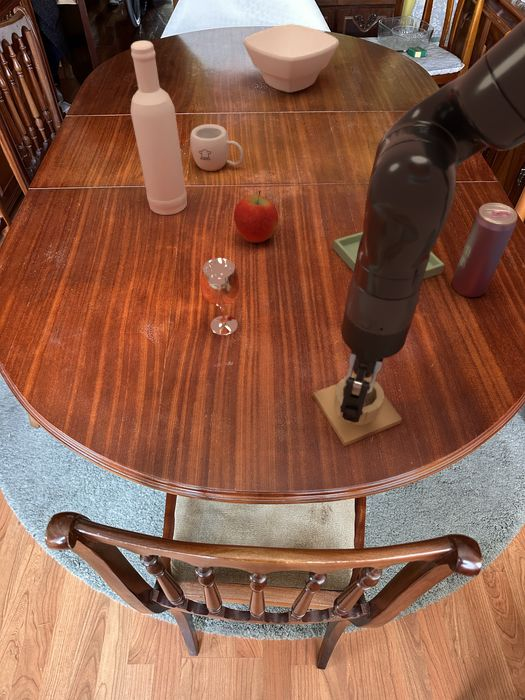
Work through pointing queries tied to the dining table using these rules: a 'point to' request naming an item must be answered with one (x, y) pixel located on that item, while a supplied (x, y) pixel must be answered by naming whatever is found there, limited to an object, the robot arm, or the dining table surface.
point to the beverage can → (484, 249)
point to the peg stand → (350, 431)
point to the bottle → (156, 135)
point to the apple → (256, 218)
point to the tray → (349, 249)
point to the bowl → (290, 55)
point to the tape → (368, 412)
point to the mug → (212, 147)
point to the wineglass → (220, 291)
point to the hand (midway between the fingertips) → (358, 393)
